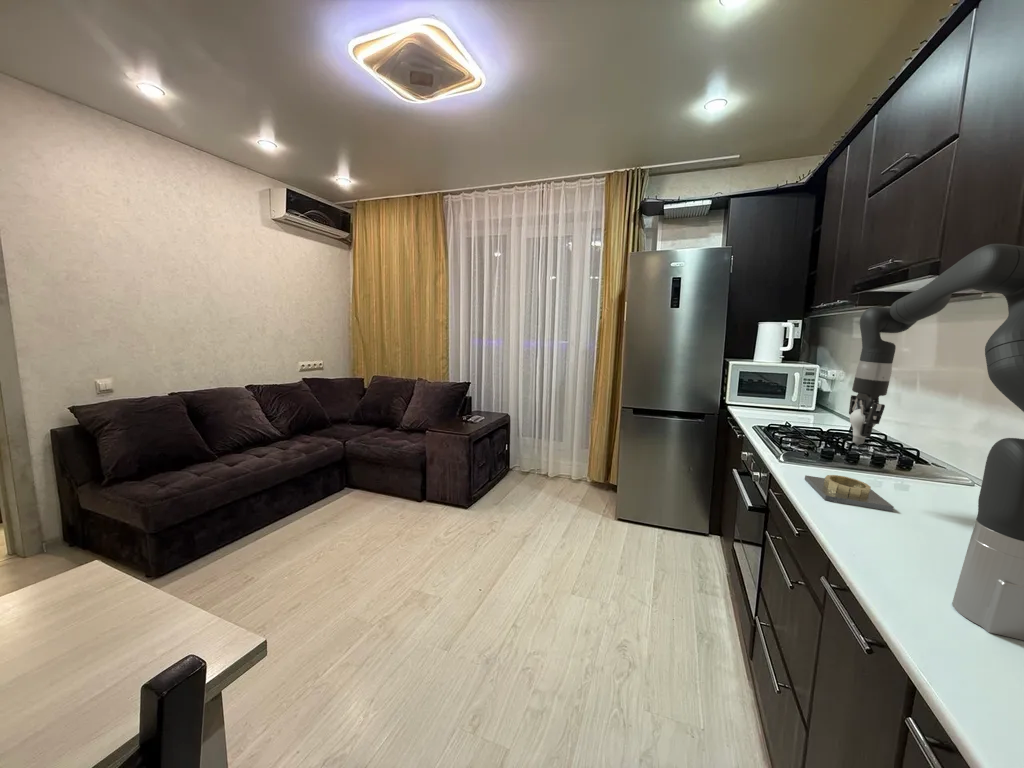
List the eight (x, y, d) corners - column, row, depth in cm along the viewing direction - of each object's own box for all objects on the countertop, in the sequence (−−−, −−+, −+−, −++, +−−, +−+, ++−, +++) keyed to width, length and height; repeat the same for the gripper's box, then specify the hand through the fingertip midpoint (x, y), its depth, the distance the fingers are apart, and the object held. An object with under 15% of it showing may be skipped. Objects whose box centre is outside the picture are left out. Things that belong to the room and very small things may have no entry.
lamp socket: (892, 511, 110) (895, 498, 109) (824, 500, 115) (827, 487, 114) (863, 488, 125) (866, 476, 124) (804, 479, 130) (806, 468, 129)
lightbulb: (876, 449, 113) (885, 412, 111) (852, 446, 114) (860, 410, 112) (862, 442, 119) (870, 407, 117) (839, 440, 120) (847, 405, 118)
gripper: (903, 382, 105) (889, 442, 108) (874, 375, 118) (863, 428, 122) (869, 379, 107) (856, 438, 111) (844, 373, 121) (834, 425, 124)
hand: (859, 433), depth 116 cm, fingers closed on lightbulb, 5 cm apart
